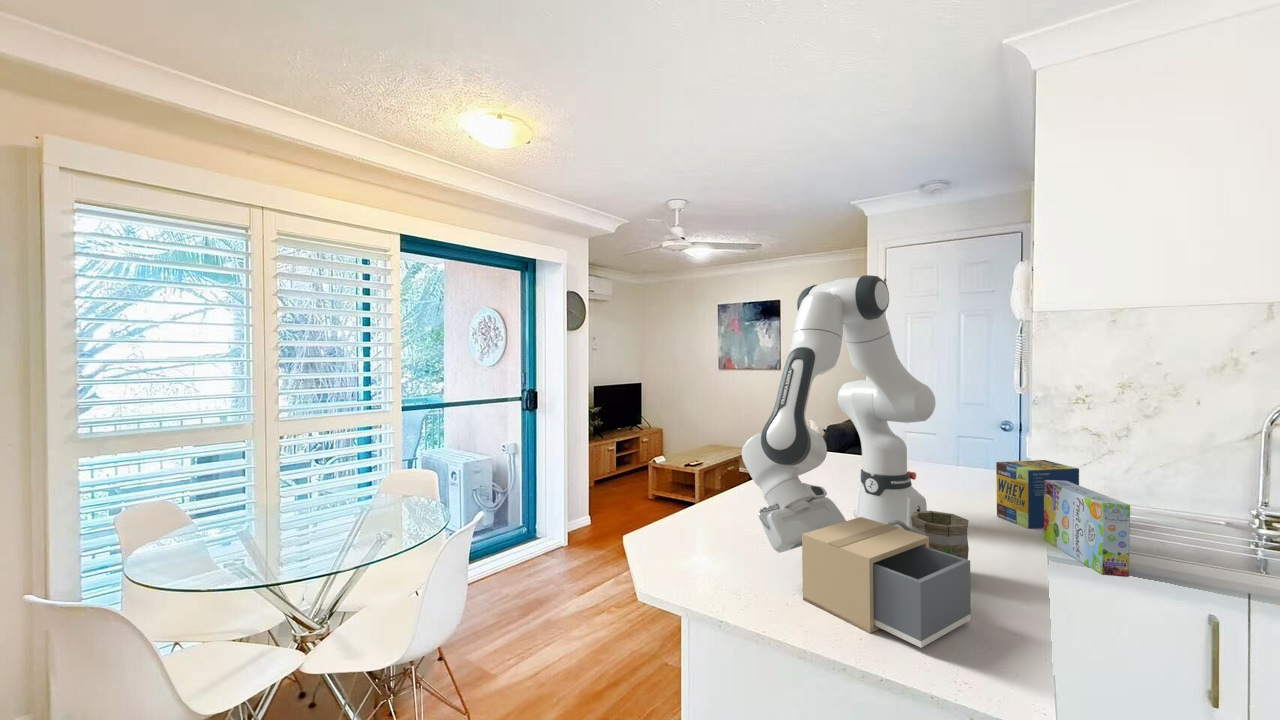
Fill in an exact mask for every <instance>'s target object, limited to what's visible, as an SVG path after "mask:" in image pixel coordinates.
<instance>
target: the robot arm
mask: <svg viewBox="0 0 1280 720" xmlns="http://www.w3.org/2000/svg"><path fill="white" fill-rule="evenodd" d="M889 304H890V292H889V287H888V285H887V283H886V282H885V280H883V279H882V278H881V277H880V276H877V275H870V274H869V275H861V276H854V277H846V278H845V277H844V278H838V279H836V280H832V281H827V282H824V283H820V284H813V285H811V286H808V287H806V288H804V289H803V290H802V291H801V292H800V294H799V296H798V298H797V303H796V307H797V308H796V309H797V314H796V318H795V321H794V325H793V330H792V336H791V342H790V347H789V353H788V356H787V358H786V360H785V364H784V367H783V369H782V375H781V379H780V382H779V387H778V390H777V395H776V399H775V403H774V406H773V409H772V412H771V415H769V418H768V419H767V421H766V423H765V424H764V425H763V428H762V431H761V432H758V433H755V434H754V435H753V436H750V437H749V438H748V439H747V440H746V441H745V443H744V444H743V446H742V449H741V458H742V461H743V464H744V466H745V468H746V470H747V472H748V474H749V475H750V478H751V479H752V481H753V482H754V484H755V485H756V486H757V487H758V488H759V489H760V490H761V492H762V495H763V498H764V500H765V501H766V504H767V505H768V506H763V507H761V508H760V509H759V511H758V519H759V520H760V523H762V527H763V530H764V532H765V535H766V537H767V539H768V542H769V544H770V545H771V547H772V549H773V550H774V551H775V552H777V553H779V554H781V553H785V552H788V551H790V550H793V549H794V550H795V549H797V548H800V547H801V548H802V534H804V533H807V532H811V531H814V530H817V529H821V528H824V527H828V526H831V525H835V524H838V523H841V522H845V521H847V519H846V518H845V517H844V515H843V513H842V511H841V510H840V509H839V508H838V506H837V505H836V503H834V502H833V500H832V499H831V498H829V497H827V496H828V493H827V490H826V489H825V488H824V487H823V486H819V485H813V484H808V483H805V482H802V481H801V479H800V478H799V476H801V475H804V474H806V473H809V472H811V471H812V470H814V469H816V468H818V467H819V466H821V465H822V464H823V462H825V459H826V457H827V453H828V447H827V442H826V440H825V438H824V437H823V436H822V435H821V434H820V433H819V432H817V431H816V430H814V429H813V428H811V427H810V426H808V424H807V421H806V411H807V406H808V402H809V399H810V397H809V396H810V392H811V387H812V385H813V384H812V383H813V381H814V380H815V378H816V377H817V376H821V375H824V374H826V373H828V372H830V371H832V370H833V369H834V368H835V367H836V365H837V362H838V361H839V357H840V354H841V349H842V342H843V337H844V340H845V345H846V350H847V352H848V356H849V361H850V363H851V365H852V367H853V369H855V370H856V371H857V372H858V373H860V374H862V375H864V376H865V377H867V379H859V380H858V379H856V380H853V381H848V382H845V383H843V384H842V386H841V387H840V388H839V390H838V393H837V404H838V407H839V409H840V410H841V412H842V413H844V414H845V415H846V416H847V418H849V420H850V421H851V423H852V424H853V425H854V427H855V429H856V432H857V434H858V436H859V440H860V446H861V460H862V461H861V462H862V464H861V465H862V468H861V469H860V483H861V485H859V487H858V488H857V489H858V490H857V491H858V492H857V501H856V509H855V510H853V516H855V518H859V517H863V518H867V519H870V520H873V521H877V522H880V523H884V524H888V522H890V521H893V520H898V521H901V522H903V523H904V524H905V525H906V526H908V527H909V528H912V521H911V516H912V514H913V512H920V511H928V507H927V499H926V498H925V496H924V495H922V494H921V493H920V492H919V491H918V490H916V489H915V487H913V486H912V484H913V483H912V480H916V479H917V473H916V472H914V471H908V447H907V444H906V443H905V441H904V440H903V439H902V438H901V437H900V436H898V435H896V434H895V433H894V432H893V431H892V429H891V428H890V426H889V423H888V422H896V423H904V424H905V423H906V424H909V423H919V422H926V421H927V420H928V419H930V418H931V416H932V415H933V414H934V412H935V409H936V404H937V402H936V395H934V392H933V391H932V389H931V387H929V386H928V385H927V384H924V383H922V382H921V381H920V380H918V379H917V378H915V376H913V375H912V374H911V373H910V372H909V371H908V370H907V368H905V366H904V365H903V363H902V362H901V360H900V359H899V356H898V354H897V352H896V351H897V350H896V348H895V345H894V343H893V342H894V341H893V339H892V334H891V331H890V327H889V323H888V319H887V316H886V314H885V312H886V311H887V310H888V308H889ZM893 526H896V527H899V528H901V529H904V528H903V527H902V526H900V525H898V524H895V525H893Z"/></svg>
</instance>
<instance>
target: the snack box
mask: <svg viewBox="0 0 1280 720" xmlns="http://www.w3.org/2000/svg"><path fill="white" fill-rule="evenodd" d="M1130 535H1131V504H1129V503H1126V502H1123V501H1120V500H1119V499H1115V498H1113V497H1110V496H1108V495H1105V494H1102V493H1100V492H1097V491H1094V490H1092V489H1089V488H1086V487H1084V486H1082V485H1080V484H1079V485H1076V484H1074V483H1071V482H1069V481H1060V480H1044V528H1043V540H1044V541H1046V542H1047V543H1050V544H1051V545H1053V546H1054V547H1055V548H1057V549H1059V550H1060V551H1062V552H1064V553H1065V554H1067V555H1069V556H1071V557H1072V558H1074V559H1075V560H1076V561H1078V562H1080V563H1082V564H1083V565H1085V566H1087V567H1088V568H1090V569H1092V570H1093V571H1095V572H1096V573H1098V574H1100V575H1101V576H1110V577H1121V578H1123V577H1124V578H1129V577H1130V549H1131V547H1130V544H1131V543H1130V541H1131V540H1130V538H1131V536H1130Z"/></svg>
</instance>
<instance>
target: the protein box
mask: <svg viewBox="0 0 1280 720" xmlns="http://www.w3.org/2000/svg"><path fill="white" fill-rule="evenodd" d="M995 464H996V468H995V469H996V471H995V472H996V475H995V477H996V517H997V516H998V518H1000V519H1002V520H1003V519H1004V520H1005V521H1008V522H1010V523H1013V524H1015V525H1018V526H1021V527H1023V528H1025V529H1044V528H1043V527H1044V480H1060V481H1069V482H1071V483H1074V484H1076V485H1079V486H1080V468H1079V467H1074V466H1072V465H1071V466H1070V465H1067V464H1062V463H1059V462H1054V461H1050V460H1045V459H1037V460H1036V459H1035V460H1017V461H1016V460H1014V461H1011V460H1010V461H996V462H995Z"/></svg>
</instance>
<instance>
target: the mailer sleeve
mask: <svg viewBox="0 0 1280 720" xmlns="http://www.w3.org/2000/svg"><path fill="white" fill-rule="evenodd" d="M920 545H922V546H925V547H928V548H929V537H928V536H925V535H921V534H918V533H914V532H911V531H908V530H904V529H901V528H899V527H896V526H893V525H889V524H884V523H880V522H877V521H873V520H870V519H867V518H863V517H859V518H857V517H855V518H852V519H849V520H846V521H845V522H841V523H838V524H835V525H831V526H828V527H824V528H821V529H817V530H814V531H811V532H807V533H804V534H802V546H801V552H802V553H801V555H802V556H801V557H802V561H801V562H802V563H801V564H802V600H803V601H804V602H807V603H809V604H811V605H812V606H815V607H817V608H818V609H821V610H822V611H824V612H827V613H829V614H830V615H833V616H835V617H837V618H838V619H841V620H842V621H845V622H847V623H849V624H850V625H853V626H855V627H857V628H858V629H860V630H862V631H864V632H866V633H868V634H871V633H874V632H876V631H878V630H880V629H881V628H879V627H877V626H875V625H874V603H873V563H875V562H878V561H880V560H883V559H886V558H888V557H891V556H893V555H896V554H899V553H901V552H904V551H907V550H909V549H912V548H915V547H917V546H920Z"/></svg>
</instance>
